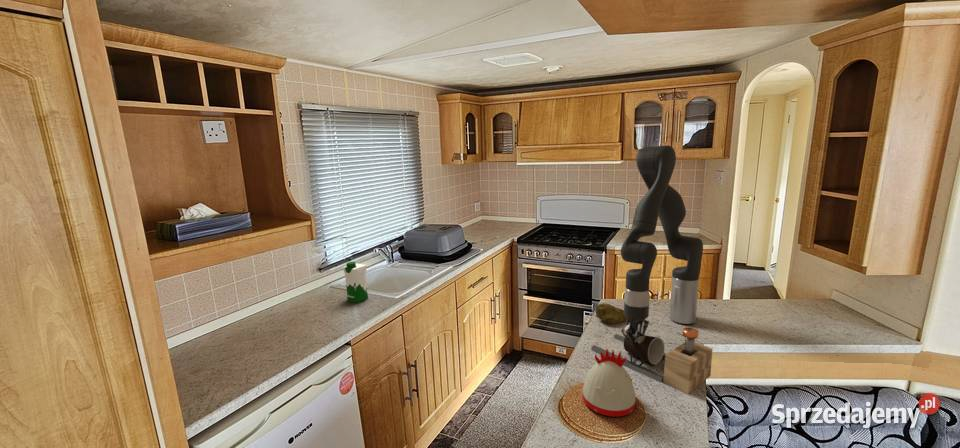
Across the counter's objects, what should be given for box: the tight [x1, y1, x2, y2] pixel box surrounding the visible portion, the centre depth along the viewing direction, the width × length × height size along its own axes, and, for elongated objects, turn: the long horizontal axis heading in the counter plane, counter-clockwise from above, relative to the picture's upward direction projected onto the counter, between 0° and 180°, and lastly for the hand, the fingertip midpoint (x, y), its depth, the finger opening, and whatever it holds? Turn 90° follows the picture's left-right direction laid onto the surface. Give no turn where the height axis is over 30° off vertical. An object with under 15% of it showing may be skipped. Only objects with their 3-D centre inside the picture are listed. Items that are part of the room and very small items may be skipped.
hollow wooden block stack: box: [663, 342, 714, 395], centre depth 116 cm, size 14×7×9 cm, turn 127°
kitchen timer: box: [582, 348, 636, 417], centre depth 107 cm, size 14×14×15 cm
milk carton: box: [342, 261, 369, 304], centre depth 185 cm, size 9×9×20 cm
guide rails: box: [590, 333, 667, 383], centre depth 130 cm, size 14×25×2 cm, turn 37°
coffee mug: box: [623, 334, 665, 366], centre depth 129 cm, size 12×9×10 cm
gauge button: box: [682, 327, 699, 356], centre depth 115 cm, size 4×4×10 cm
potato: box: [594, 302, 627, 324], centre depth 156 cm, size 8×13×8 cm, turn 87°
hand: (634, 351), depth 130 cm, fingers closed
